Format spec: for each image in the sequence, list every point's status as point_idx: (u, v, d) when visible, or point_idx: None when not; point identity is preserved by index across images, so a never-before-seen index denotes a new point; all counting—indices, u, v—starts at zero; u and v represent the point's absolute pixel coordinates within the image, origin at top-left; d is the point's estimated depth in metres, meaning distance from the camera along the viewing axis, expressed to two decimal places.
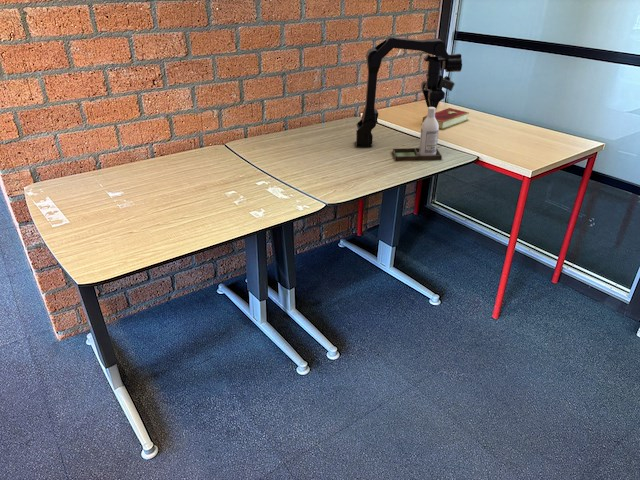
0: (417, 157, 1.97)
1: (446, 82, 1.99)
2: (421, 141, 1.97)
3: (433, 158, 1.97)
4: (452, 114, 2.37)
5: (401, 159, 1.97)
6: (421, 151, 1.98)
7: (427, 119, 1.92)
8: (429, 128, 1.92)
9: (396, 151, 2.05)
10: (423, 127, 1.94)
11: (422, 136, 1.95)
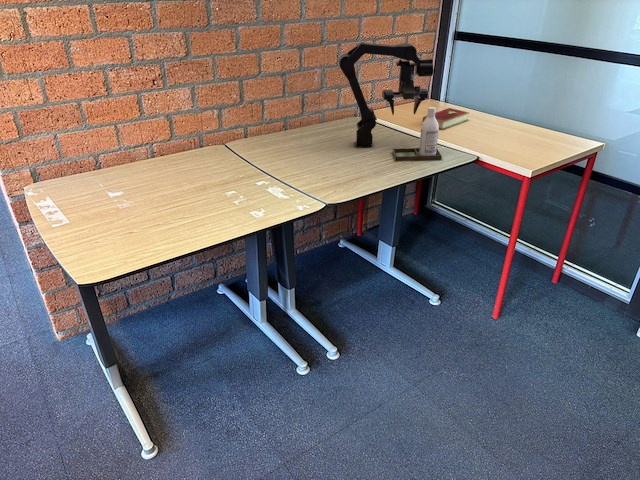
0: (417, 157, 1.97)
1: (402, 88, 1.97)
2: (421, 141, 1.97)
3: (433, 158, 1.97)
4: (452, 114, 2.37)
5: (401, 159, 1.97)
6: (421, 151, 1.98)
7: (427, 119, 1.92)
8: (429, 128, 1.92)
9: (396, 151, 2.05)
10: (423, 127, 1.94)
11: (422, 136, 1.95)
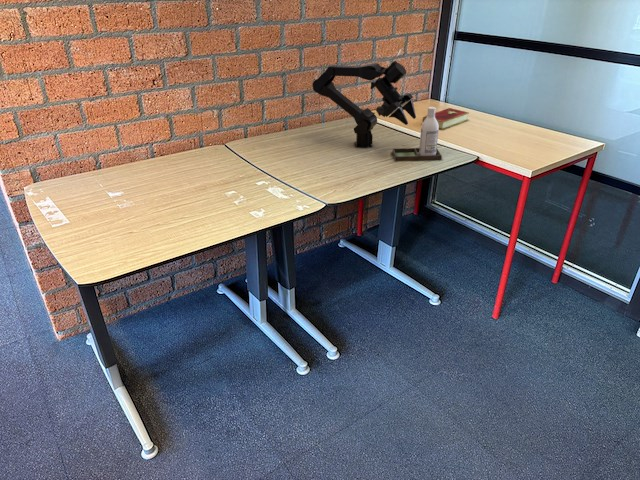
0: (417, 157, 1.97)
1: None
2: (421, 141, 1.97)
3: (433, 158, 1.97)
4: (452, 114, 2.37)
5: (401, 159, 1.97)
6: (421, 151, 1.98)
7: (427, 119, 1.92)
8: (429, 128, 1.92)
9: (396, 151, 2.05)
10: (423, 127, 1.94)
11: (422, 136, 1.95)
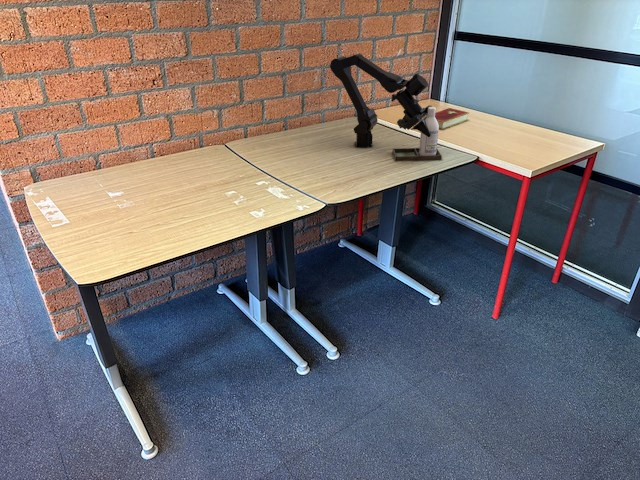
0: (417, 157, 1.97)
1: None
2: (421, 141, 1.97)
3: (433, 158, 1.97)
4: (452, 114, 2.37)
5: (401, 159, 1.97)
6: (421, 151, 1.98)
7: (427, 119, 1.92)
8: (429, 128, 1.92)
9: (396, 151, 2.05)
10: None
11: (422, 136, 1.95)
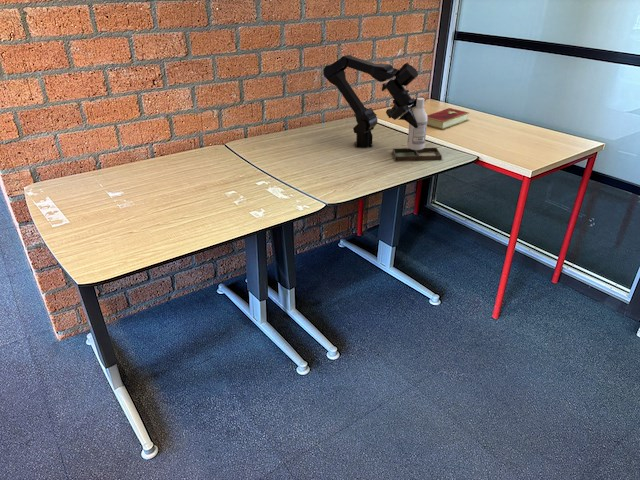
0: (417, 157, 1.97)
1: None
2: (409, 132, 1.95)
3: (433, 158, 1.97)
4: (452, 114, 2.37)
5: (401, 159, 1.97)
6: (409, 142, 1.97)
7: (415, 110, 1.90)
8: (417, 119, 1.90)
9: (396, 151, 2.05)
10: None
11: (410, 127, 1.93)
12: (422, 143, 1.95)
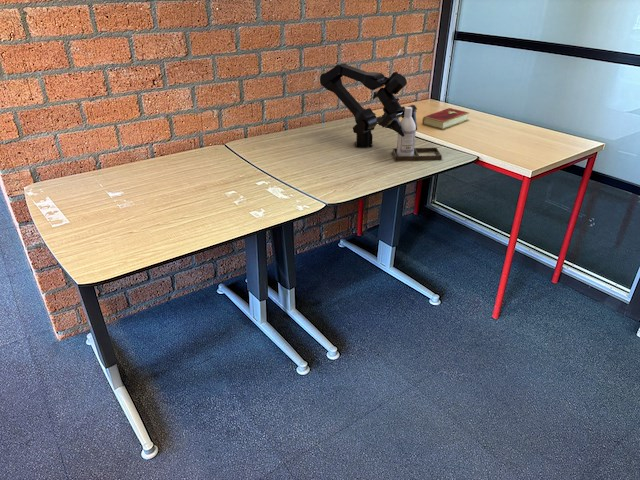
0: (417, 157, 1.97)
1: None
2: (398, 140, 1.98)
3: (433, 158, 1.97)
4: (452, 114, 2.37)
5: (401, 159, 1.97)
6: (398, 150, 1.99)
7: (403, 119, 1.93)
8: (404, 128, 1.92)
9: (396, 151, 2.05)
10: None
11: (398, 135, 1.96)
12: (410, 152, 1.97)
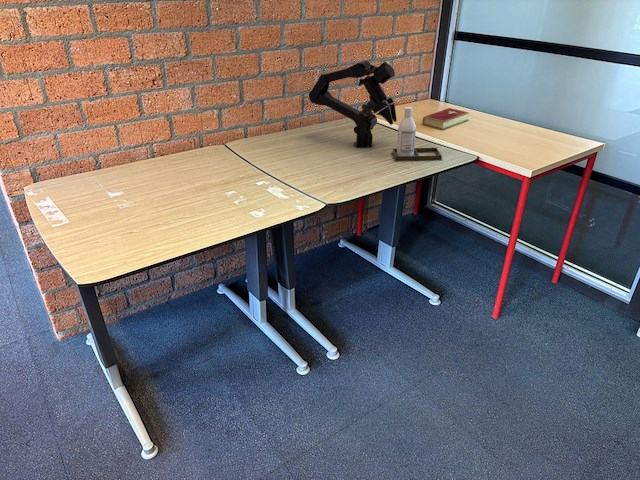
0: (417, 157, 1.97)
1: None
2: (398, 140, 1.98)
3: (433, 158, 1.97)
4: (452, 114, 2.37)
5: (401, 159, 1.97)
6: (398, 150, 1.99)
7: (403, 119, 1.93)
8: (404, 128, 1.92)
9: (396, 151, 2.05)
10: (399, 126, 1.94)
11: (398, 135, 1.96)
12: (410, 152, 1.97)
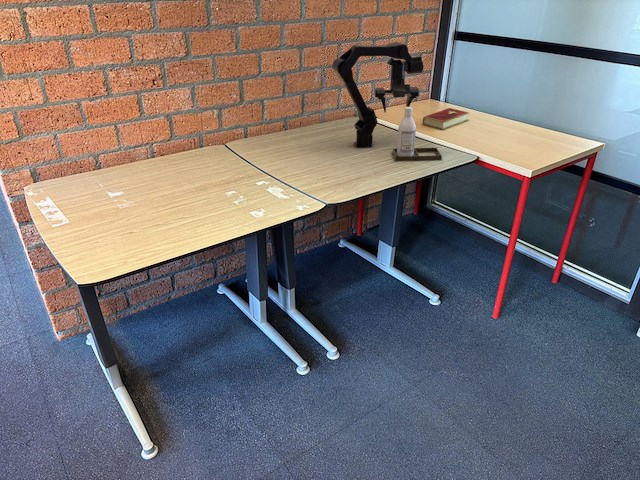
0: (417, 157, 1.97)
1: (393, 87, 2.01)
2: (398, 140, 1.98)
3: (433, 158, 1.97)
4: (452, 114, 2.37)
5: (401, 159, 1.97)
6: (398, 150, 1.99)
7: (403, 119, 1.93)
8: (404, 128, 1.92)
9: (396, 151, 2.05)
10: (399, 126, 1.94)
11: (398, 135, 1.96)
12: (410, 152, 1.97)
